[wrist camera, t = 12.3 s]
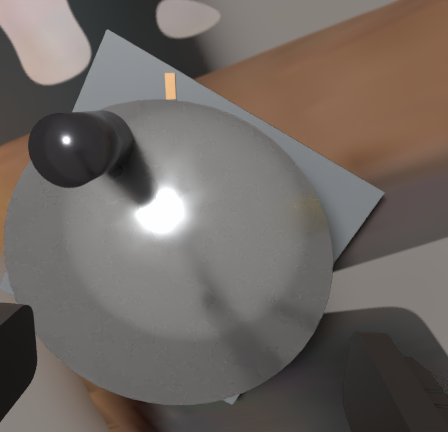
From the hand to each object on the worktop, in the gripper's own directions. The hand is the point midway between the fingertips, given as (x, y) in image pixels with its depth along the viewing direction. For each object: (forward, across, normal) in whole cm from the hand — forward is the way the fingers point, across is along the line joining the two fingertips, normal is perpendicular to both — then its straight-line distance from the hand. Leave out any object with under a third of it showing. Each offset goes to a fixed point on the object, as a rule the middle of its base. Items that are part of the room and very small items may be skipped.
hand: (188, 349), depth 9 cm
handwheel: (+20, +4, +6) cm, 21 cm away
